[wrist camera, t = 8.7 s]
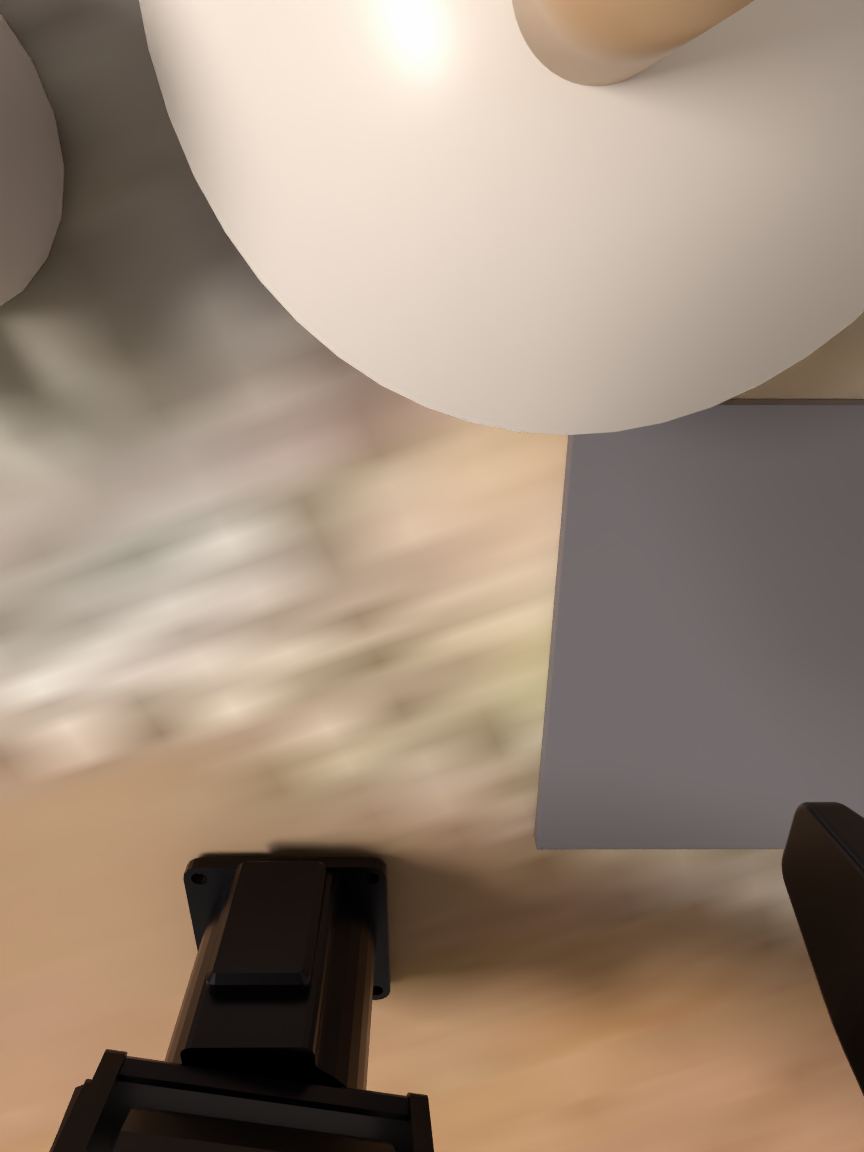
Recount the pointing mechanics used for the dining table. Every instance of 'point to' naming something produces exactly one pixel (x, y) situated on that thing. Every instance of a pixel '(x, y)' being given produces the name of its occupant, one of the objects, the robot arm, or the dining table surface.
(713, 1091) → the dining table surface
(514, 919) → the dining table surface
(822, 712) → the mat
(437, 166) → the lid
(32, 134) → the cup
